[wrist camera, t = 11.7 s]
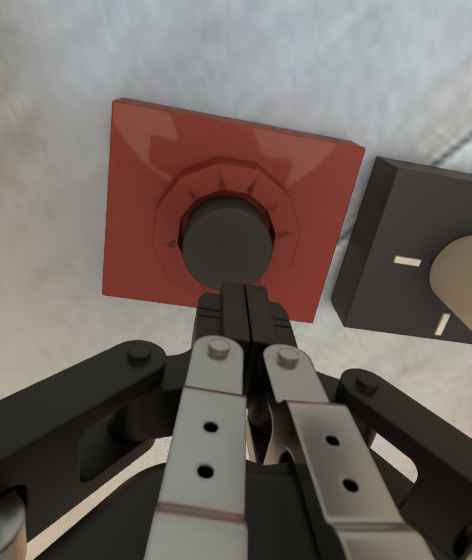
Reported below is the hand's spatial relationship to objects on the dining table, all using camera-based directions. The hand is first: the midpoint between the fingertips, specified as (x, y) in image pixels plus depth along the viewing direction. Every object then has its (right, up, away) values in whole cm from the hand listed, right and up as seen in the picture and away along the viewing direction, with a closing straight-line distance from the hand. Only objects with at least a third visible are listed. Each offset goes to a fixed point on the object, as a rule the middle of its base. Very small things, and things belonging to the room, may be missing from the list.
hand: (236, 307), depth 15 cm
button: (-1, +3, +6) cm, 7 cm away
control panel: (+12, +3, +11) cm, 16 cm away
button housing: (-1, +5, +9) cm, 10 cm away
